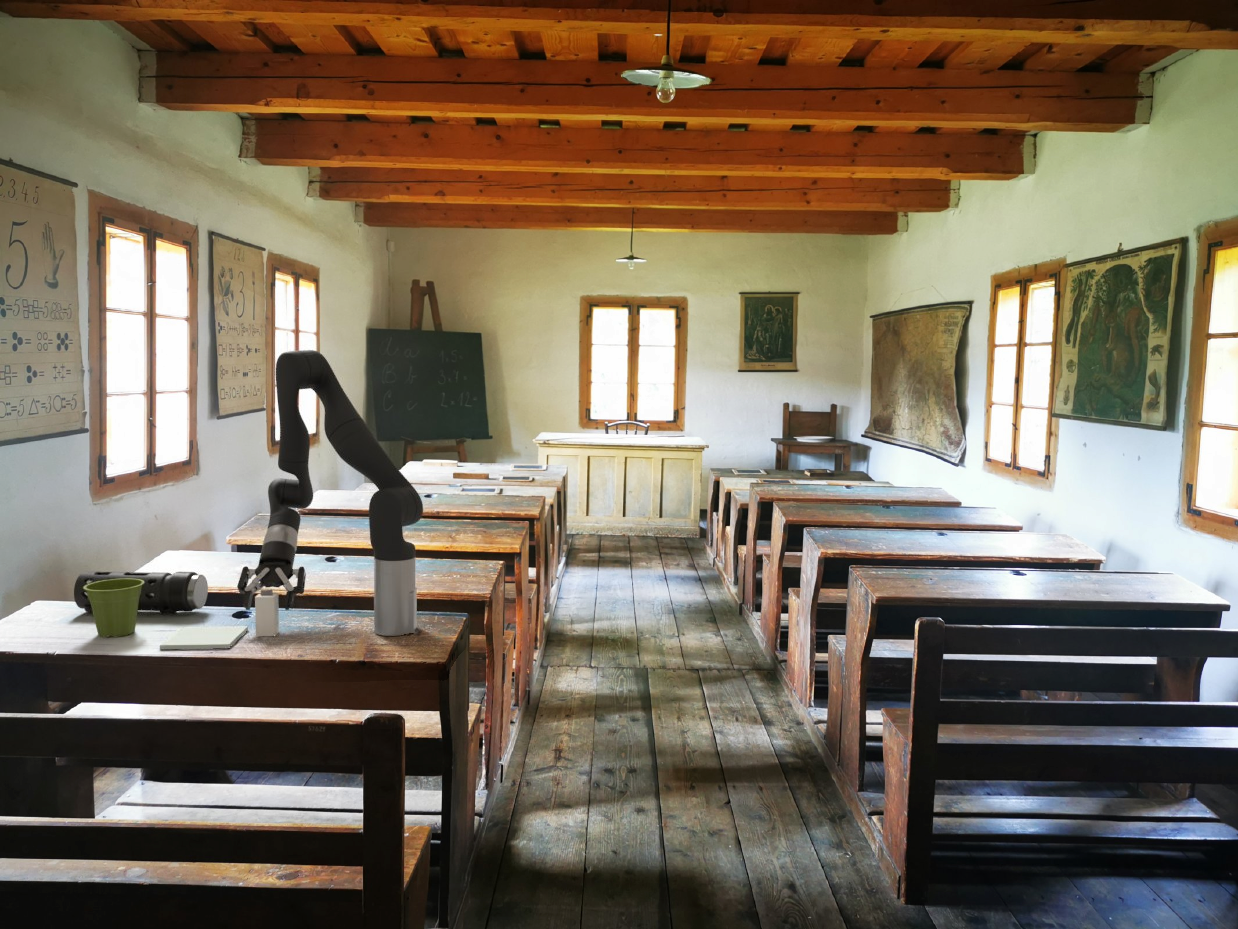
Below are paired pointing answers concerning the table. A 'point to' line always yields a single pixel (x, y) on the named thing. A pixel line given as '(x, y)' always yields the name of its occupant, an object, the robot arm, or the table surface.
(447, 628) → the table surface
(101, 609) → the plant pot
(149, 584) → the muzzle brake
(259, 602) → the plug block
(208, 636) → the board
